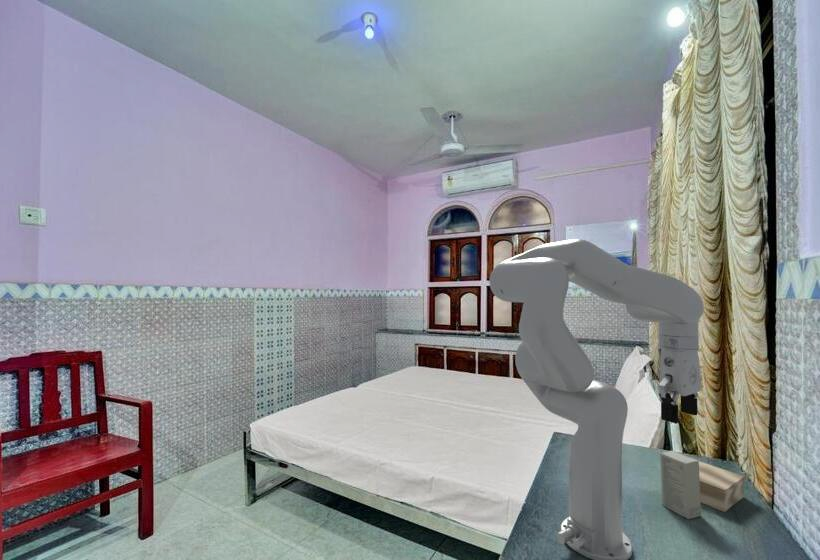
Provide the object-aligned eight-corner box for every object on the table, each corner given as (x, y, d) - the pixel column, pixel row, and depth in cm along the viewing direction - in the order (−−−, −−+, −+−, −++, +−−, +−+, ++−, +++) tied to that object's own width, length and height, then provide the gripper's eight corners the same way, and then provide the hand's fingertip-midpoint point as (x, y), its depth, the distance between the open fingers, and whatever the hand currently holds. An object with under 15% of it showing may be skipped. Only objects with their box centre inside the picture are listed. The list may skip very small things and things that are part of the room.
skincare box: (701, 516, 81) (701, 461, 81) (687, 520, 79) (686, 463, 80) (673, 501, 87) (672, 449, 87) (659, 504, 85) (659, 451, 86)
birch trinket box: (725, 512, 82) (724, 490, 82) (677, 493, 90) (677, 472, 90) (745, 497, 89) (744, 476, 89) (698, 480, 97) (698, 460, 97)
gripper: (679, 348, 77) (681, 430, 76) (713, 342, 86) (715, 415, 85) (641, 343, 83) (643, 419, 82) (676, 338, 92) (678, 406, 92)
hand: (679, 417), depth 84 cm, fingers open, 9 cm apart
